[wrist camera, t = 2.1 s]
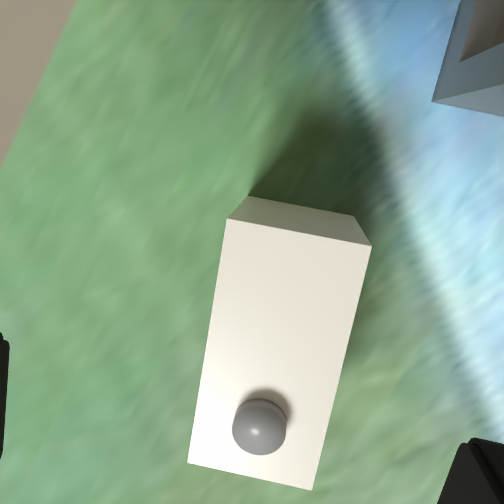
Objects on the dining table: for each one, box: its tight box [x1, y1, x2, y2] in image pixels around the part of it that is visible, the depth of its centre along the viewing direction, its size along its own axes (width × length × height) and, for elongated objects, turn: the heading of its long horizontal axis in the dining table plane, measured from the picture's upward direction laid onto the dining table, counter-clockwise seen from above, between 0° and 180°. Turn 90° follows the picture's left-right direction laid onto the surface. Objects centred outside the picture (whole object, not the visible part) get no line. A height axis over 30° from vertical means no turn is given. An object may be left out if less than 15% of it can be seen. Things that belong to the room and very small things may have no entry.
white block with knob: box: [188, 196, 372, 490], centre depth 16 cm, size 4×8×6 cm, turn 170°
